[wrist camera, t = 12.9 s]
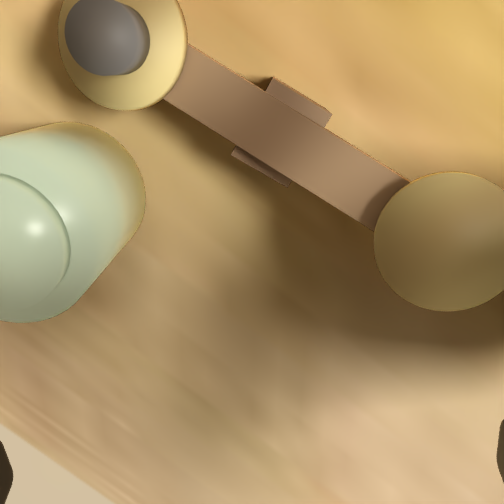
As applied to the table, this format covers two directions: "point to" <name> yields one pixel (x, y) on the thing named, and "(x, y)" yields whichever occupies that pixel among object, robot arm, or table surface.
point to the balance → (295, 149)
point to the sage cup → (62, 215)
